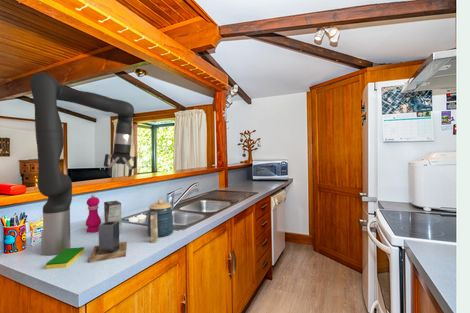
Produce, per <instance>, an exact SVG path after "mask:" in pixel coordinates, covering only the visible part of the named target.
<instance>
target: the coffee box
mask: <svg viewBox="0 0 470 313" xmlns="http://www.w3.org/2000/svg"><path fill="white" fill-rule="evenodd" d="M103 206H104V208H103V209H104V211H103V212H104V214H103V215H104V222H110V221H119V235H120V234H122V231H123V230H122V202H120V201H118V200H111V201H104V204H103Z"/></svg>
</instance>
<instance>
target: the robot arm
mask: <svg viewBox="0 0 470 313" xmlns="http://www.w3.org/2000/svg"><path fill="white" fill-rule="evenodd" d="M29 85H30V91H31V96H32V100H33V104H34V106H33V107H34V125H35V126H34V127H35V128H34V129H35V139H36V148H37V150H36V152H37V161H38V162H37V163H38V166H37V167H38V168H37V169H38V170H37V188H38V191H39V193H40V194H41V195H42V196H44V197H47V200H46V203H45V204H44V205H43V206H42V231H41V234H40V239H41V240H40V241H41V242H40V244H41V247H40V248H41V255H42V256H52V255H58V254H59V253H61V252H62V251H63V250H65V249H68V248H72V246H71V244H72V243H71V241H72V240H71V204H72V200H73V183H72V179H71V178H70V176H69V175H68V174H65V173H61V171H60V158H61V155H62V153H63V151H64V145H65V135H64V127H63V124H62V120H61V117H60V113H59V110H58V105H57V104H58V103H57V102H58V101H59V102H60V101H61V102H66V103H67V102H68V103H73V104H77V105H80V106H82V107H83V106H84V107H87V108H89V109H90V108H91V109H94V110H97V111H101V112H104V113H111V114H115V115H117V123H116V126H115V134H114V140H113V148H112V149H113V152H112V154H108V153H106V154H105V156H104V161H103V167H105V168H107V175H108V176H109V177H111V176H112V171H113V170H112V169H113V166H114V165H115V164H116V165H119V164H120V165H126V166H127V167H128V168H129V169H128V176H127V177H128V178H130V177H131V176H133V174H132V173H133V170H134V169H136V168H137V162H138V161H137V160H138V158H137V156H136V155H135V156H131V148H132V138H133V137H132V132H133V120H134V119H133V118H134V112H135V108H134V106H133V105H132V104H131V103H130V102H128V101H125V100H122V99H117V98H111V97H109V96H106V95H102V94H99V93H95V92H90V91H83V90H77V89H75V88H71V87H68V86H67V85H66V86H65V85H63V84H62V83H60V82H58V80H57V79H55V77H54V76H52V75H50V74H49V73H47V72H37V73H35V74H33V75H32V77H30V80H29ZM111 158H112V161H111V163H108V162H109V160H110V159H111ZM130 160H132V161H133V165H132V164H131V163H130Z"/></svg>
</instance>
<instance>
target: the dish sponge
mask: <svg viewBox="0 0 470 313" xmlns="http://www.w3.org/2000/svg"><path fill="white" fill-rule="evenodd" d="M84 252H85V247H84V246H83V247H71V248H68V249H65V250H63V251H62V252H61V253H59V254H56V255H55V256H54V257H52V259H50V260H49V261H47V262H46V263H45V269H46V270H51V269H52V270H53V269H61V268H68V267H69V266H71V264H73V263H75V261H76V260H77V259H78V258H79V257H81V255H82V254H84Z"/></svg>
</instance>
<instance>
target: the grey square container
mask: <svg viewBox="0 0 470 313" xmlns="http://www.w3.org/2000/svg"><path fill="white" fill-rule="evenodd" d="M119 242H120V234H119V221H110V222H105V221H104V222H101V224H100V225H99V231H98V246H99V255H103V254H109V253H115V252H117V251H118V250H119V249H120V245H119Z"/></svg>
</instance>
